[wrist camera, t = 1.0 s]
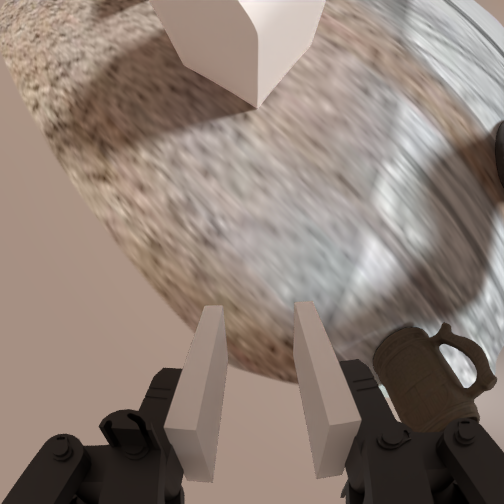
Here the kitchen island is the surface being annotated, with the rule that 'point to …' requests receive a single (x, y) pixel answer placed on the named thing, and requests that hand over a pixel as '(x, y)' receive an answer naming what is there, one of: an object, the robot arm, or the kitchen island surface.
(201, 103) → the kitchen island surface
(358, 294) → the kitchen island surface
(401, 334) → the beer stein
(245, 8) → the milk
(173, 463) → the robot arm
